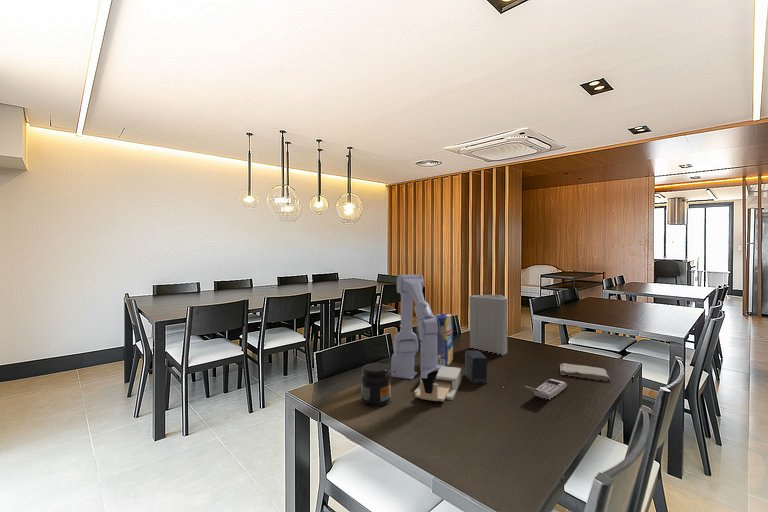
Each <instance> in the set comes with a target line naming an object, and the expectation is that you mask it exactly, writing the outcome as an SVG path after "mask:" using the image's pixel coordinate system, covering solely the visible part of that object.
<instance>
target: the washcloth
mask: <svg viewBox="0 0 768 512" xmlns="http://www.w3.org/2000/svg"><path fill="white" fill-rule="evenodd" d="M559 367H560V368H559V369H560V370H559V372H560V375H561V376H564V375H568V376H567V377H570V376H578V377H587V378H594V379H603V380H609V381H611V379H610V376H609V375H608V372H607V370H606V369H605V368H601V367H594V366H590V365H589V366H588V365H580V364H572V363H564V362H563V363H560V364H559Z"/></svg>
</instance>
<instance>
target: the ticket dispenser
mask: <svg viewBox="0 0 768 512" xmlns="http://www.w3.org/2000/svg"><path fill="white" fill-rule="evenodd" d="M462 373H463V372H462V367H455V366H447V367H446V366H441V369H440V370H438V374H437V376H436V379H435V381H443V382H451V383H452V386H451V388H450V390H449V392H448V394H447V396H446V398H445V400H449V401H453V400H454V398H455V395H456V393H457V391H458V388H459V387H460V385H461V382H462V380H463V379H462ZM418 376H419V383H420V382H423V381H422V379H421V377H420V375H419V374H418ZM419 389H420V384H419V385H418V386H417V388H416V389H415V390H414V392H413V395H414V396H415V395H416V393H417V392H418V391H419Z"/></svg>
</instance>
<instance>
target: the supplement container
mask: <svg viewBox="0 0 768 512" xmlns="http://www.w3.org/2000/svg"><path fill="white" fill-rule="evenodd" d="M361 372H362V375H361V376H360V383H361V386H360V388H361V389H360V390H361V393H360V395H361V396H360V400H361V402H362V403H363V404H364V405H366V406H369V407H381V406H382V407H383V406H385V405H388V404H389V403H390V401H391V399H392V395H391V393H392V391H391V386H392V385H391V381H392V379H391V378H392V377H391V374H390V367H389V365H388V364H385V363H381V362H374V363H367V364H365V365H363V366H362V368H361Z"/></svg>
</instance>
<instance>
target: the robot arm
mask: <svg viewBox="0 0 768 512" xmlns="http://www.w3.org/2000/svg"><path fill="white" fill-rule="evenodd" d="M423 276H424V275H422V274H421V273H419V274H418V273H417V274H399V275H397V278H396V292H397V293H398V294H400V331H398V332H397V333H396V334H394V335H393V342H392V349H393V352H394V353H392V355H391V360H390V369H391V370H390V376H391V378H392V377H393V378H399V379H408V380H412V379H414V377H416V376H417V374H418V372H417V371H415V356H416V355H417V354H416V353H418V351H419V340H420V365H419V369H420V371H419V374H418V376H419V375H420V377H421V379H422V381H423V385H424V389H425V393H429V394H431V393H432V390H433V383H435V379H436V376H437V374H438V370H440V369H441V366H438V365H437V334H439V332H440V323H439V320H438V318H437V317H436V316H435V314H433V311H432V309H431V306H430V304H429V302H427V301H426V300H425V297H424V293H423V289H424V286H425V285H424V283H425V282H424V281H425V280H424V277H423ZM413 302H414V304H415V305H414V307H413ZM413 310H414V312H415V315H416V319H417V321H418V322H417V329H418V335H417V334H416V333H415V332H413ZM418 339H419V340H418ZM420 377H419V378H420Z"/></svg>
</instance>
